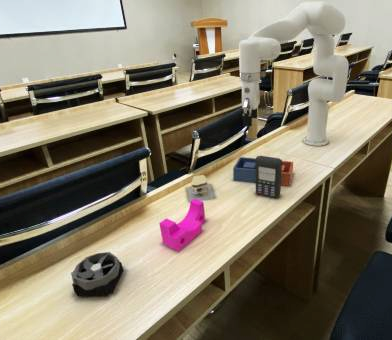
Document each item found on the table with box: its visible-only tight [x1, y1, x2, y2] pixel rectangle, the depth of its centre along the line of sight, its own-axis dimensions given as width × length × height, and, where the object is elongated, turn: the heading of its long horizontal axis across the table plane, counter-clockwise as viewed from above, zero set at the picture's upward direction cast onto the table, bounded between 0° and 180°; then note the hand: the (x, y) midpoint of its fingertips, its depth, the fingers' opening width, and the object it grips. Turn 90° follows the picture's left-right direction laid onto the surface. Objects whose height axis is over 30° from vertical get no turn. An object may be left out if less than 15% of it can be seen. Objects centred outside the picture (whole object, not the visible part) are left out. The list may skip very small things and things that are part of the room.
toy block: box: [158, 199, 206, 252], centre depth 93 cm, size 15×6×8 cm, turn 147°
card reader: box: [254, 155, 283, 199], centre depth 110 cm, size 9×4×15 cm, turn 68°
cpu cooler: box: [70, 251, 124, 298], centre depth 77 cm, size 10×6×10 cm
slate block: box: [243, 162, 255, 169], centre depth 126 cm, size 4×4×4 cm
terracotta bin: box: [281, 160, 294, 187], centre depth 123 cm, size 11×11×6 cm
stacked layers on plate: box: [186, 174, 215, 203], centre depth 115 cm, size 10×9×6 cm
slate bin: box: [232, 156, 256, 184], centre depth 126 cm, size 11×11×6 cm
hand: (250, 121), depth 119 cm, fingers open, 9 cm apart
